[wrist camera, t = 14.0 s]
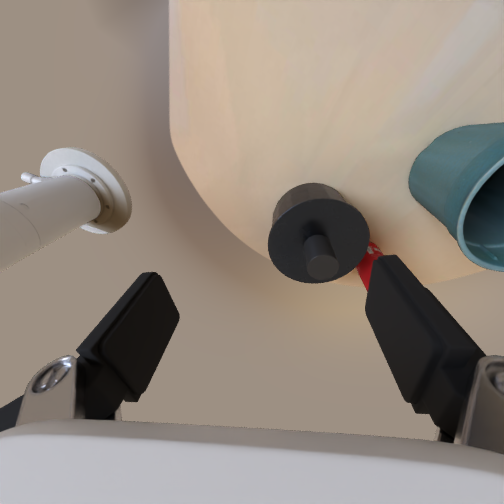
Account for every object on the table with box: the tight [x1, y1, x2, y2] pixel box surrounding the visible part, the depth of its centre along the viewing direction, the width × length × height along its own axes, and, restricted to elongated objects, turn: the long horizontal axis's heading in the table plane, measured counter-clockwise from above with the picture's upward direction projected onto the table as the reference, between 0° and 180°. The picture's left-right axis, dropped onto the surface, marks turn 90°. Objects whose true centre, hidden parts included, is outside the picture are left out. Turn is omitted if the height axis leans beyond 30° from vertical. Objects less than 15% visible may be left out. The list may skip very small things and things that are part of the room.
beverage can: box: [356, 242, 384, 292], centre depth 38 cm, size 5×5×12 cm
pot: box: [272, 183, 347, 226], centre depth 37 cm, size 14×14×10 cm
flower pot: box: [409, 122, 504, 272], centre depth 27 cm, size 16×16×16 cm
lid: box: [268, 197, 370, 283], centre depth 31 cm, size 15×15×7 cm
